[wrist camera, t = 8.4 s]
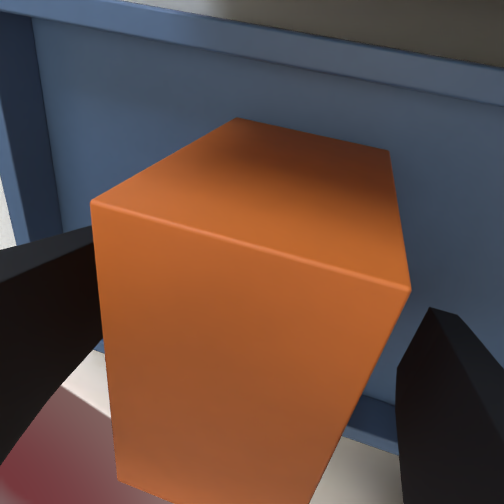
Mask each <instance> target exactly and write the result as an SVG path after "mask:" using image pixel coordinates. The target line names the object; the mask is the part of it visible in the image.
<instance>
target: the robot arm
mask: <svg viewBox="0 0 504 504" xmlns="http://www.w3.org/2000/svg"><path fill="white" fill-rule="evenodd" d="M102 339H103V331H102V321H101V311H100V301H99V291H98V281H97V271H96V261H95V251H94V241H93V231H92V225H90V226H87V227H83V228H79V229H76V230H72V231H69V232H65V233H62V234H58V235H55V236H51V237H48V238H44V239H41V240H37V241H34V242H30V243H26V244H22V245H18V246H14V247H10V248H6V249H2V250H0V465H1V464H2V462H3V461H4V460H5V458H6V457H7V455H8V454H9V453H10V451H11V450H12V448H13V447H14V445H15V444H16V442H17V441H18V440H19V438H20V437H21V436H22V434H23V433H24V432H25V430H26V429H27V428H28V426H29V425H30V424H31V422H32V421H33V420H34V418H35V417H36V415H37V414H38V413H39V411H40V410H41V409H42V407H43V406H44V405H45V403H46V402H47V401H48V400H49V398H50V397H51V396H52V395H53V394H54V392H55V391H56V390H57V389H58V388H59V387H60V385H61V384H62V383H63V382H64V381H65V380H66V379H67V378H68V376H69V375H70V374H71V373H72V372H73V371H74V370H75V369H76V368H77V367H78V365H79V364H80V363H81V362H82V361H83V360H84V359H85V358H86V357H87V355H88V354H89V353H90V352H91V351H92V350H93V349H94V348H95V347H96V346H97V344H98V343H99V342H100V341H101V340H102ZM395 416H396V428H397V439H398V450H399V461H400V471H401V482H402V492H403V503H404V504H504V369H503V367H502V366H501V365H500V364H499V363H498V361H497V360H496V359H495V358H494V357H493V355H492V354H491V353H490V352H489V350H488V349H487V348H486V347H485V346H484V344H483V343H482V342H481V341H480V340H479V338H478V337H477V336H476V335H475V334H474V332H473V331H472V330H471V329H470V328H469V326H468V325H467V324H466V323H465V322H464V321H463V320H462V319H461V318H460V317H459V316H458V315H457V314H453V313H450V312H446V311H443V310H439V309H435V308H432V307H429V308H428V310H427V312H426V314H425V316H424V318H423V320H422V321H421V323H420V325H419V327H418V329H417V331H416V333H415V335H414V337H413V338H412V340H411V342H410V344H409V346H408V348H407V350H406V352H405V353H404V355H403V357H402V359H401V361H400V363H399V365H398V367H397V373H396V391H395Z"/></svg>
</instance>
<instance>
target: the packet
mask: <svg viewBox="0 0 504 504" xmlns="http://www.w3.org/2000/svg"><path fill="white" fill-rule="evenodd" d="M90 211H91V221H92V231H93V241H94V251H95V261H96V271H97V281H98V291H99V301H100V311H101V321H102V331H103V341H104V351H105V361H106V371H107V381H108V390H109V400H110V410H111V420H112V430H113V440H114V450H115V460H116V469H117V479H118V481H120V482H122V483H125V484H127V485H130V486H133V487H135V488H137V489H140V490H142V491H145V492H147V493H150V494H152V495H154V496H157V497H160V498H162V499H164V500H167V501H169V502H172V503H174V504H309V502H310V500H311V498H312V496H313V494H314V492H315V490H316V488H317V486H318V484H319V482H320V480H321V478H322V475H323V473H324V471H325V469H326V467H327V465H328V463H329V461H330V459H331V457H332V455H333V453H334V451H335V449H336V446H337V444H338V442H339V440H340V438H341V436H342V434H343V432H344V430H345V428H346V426H347V424H348V422H349V420H350V417H351V415H352V413H353V411H354V409H355V407H356V405H357V403H358V401H359V399H360V397H361V395H362V393H363V391H364V388H365V386H366V384H367V382H368V380H369V378H370V376H371V374H372V372H373V370H374V368H375V366H376V364H377V362H378V359H379V357H380V355H381V353H382V351H383V349H384V347H385V345H386V343H387V341H388V339H389V337H390V335H391V333H392V330H393V328H394V326H395V324H396V322H397V320H398V318H399V316H400V314H401V312H402V310H403V308H404V306H405V304H406V301H407V299H408V297H409V295H410V293H411V291H412V290H411V282H410V276H409V270H408V263H407V257H406V251H405V245H404V239H403V232H402V226H401V220H400V214H399V208H398V202H397V195H396V189H395V183H394V177H393V171H392V164H391V158H390V152H389V151H388V150H384V149H380V148H375V147H370V146H366V145H361V144H357V143H352V142H348V141H343V140H338V139H334V138H329V137H325V136H320V135H316V134H311V133H306V132H302V131H297V130H293V129H288V128H283V127H279V126H274V125H270V124H265V123H261V122H256V121H251V120H247V119H242V118H238V117H237V118H234V119H232V120H231V121H229V122H227V123H225V124H224V125H222V126H220V127H218V128H217V129H215V130H213V131H211V132H210V133H208V134H206V135H204V136H203V137H201V138H199V139H197V140H196V141H194V142H192V143H190V144H189V145H187V146H185V147H183V148H182V149H180V150H178V151H176V152H174V153H173V154H171V155H169V156H167V157H166V158H164V159H162V160H160V161H159V162H157V163H155V164H153V165H152V166H150V167H148V168H146V169H145V170H143V171H141V172H139V173H138V174H136V175H134V176H132V177H131V178H129V179H127V180H125V181H124V182H122V183H120V184H118V185H117V186H115V187H113V188H111V189H110V190H108V191H106V192H104V193H103V194H101V195H99V196H97V197H96V198H94V199H92V200H91V201H90Z"/></svg>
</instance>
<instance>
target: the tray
mask: <svg viewBox="0 0 504 504" xmlns="http://www.w3.org/2000/svg"><path fill="white" fill-rule="evenodd" d="M237 117H238V118H242V119H247V120H251V121H256V122H261V123H265V124H270V125H274V126H279V127H283V128H288V129H293V130H297V131H302V132H306V133H311V134H316V135H320V136H325V137H329V138H334V139H338V140H343V141H348V142H352V143H357V144H361V145H366V146H370V147H375V148H380V149H384V150H388V151H389V152H390V158H391V164H392V171H393V177H394V183H395V189H396V195H397V202H398V208H399V214H400V220H401V226H402V232H403V239H404V245H405V251H406V257H407V263H408V270H409V276H410V282H411V290H412V291H411V293H410V295H409V297H408V299H407V301H406V304H405V306H404V308H403V310H402V312H401V314H400V316H399V318H398V320H397V322H396V324H395V326H394V328H393V330H392V333H391V335H390V337H389V339H388V341H387V343H386V345H385V347H384V349H383V351H382V353H381V355H380V357H379V359H378V362H377V364H376V366H375V368H374V370H373V372H372V374H371V376H370V378H369V380H368V382H367V384H366V386H365V388H364V391H363V393H362V395H361V397H360V399H359V401H358V403H357V405H356V407H355V409H354V411H353V413H352V415H351V417H350V420H349V422H348V424H347V426H346V428H345V430H344V432H343V434H342V436H343V437H346V438H349V439H352V440H355V441H358V442H361V443H364V444H366V445H369V446H372V447H375V448H378V449H381V450H384V451H387V452H389V453H392V454H395V455H398V456H399V450H398V439H397V428H396V416H395V391H396V373H397V367H398V365H399V363H400V361H401V359H402V357H403V355H404V353H405V352H406V350H407V348H408V346H409V344H410V342H411V340H412V338H413V337H414V335H415V333H416V331H417V329H418V327H419V325H420V323H421V321H422V320H423V318H424V316H425V314H426V312H427V310H428V308H429V307H432V308H435V309H439V310H443V311H446V312H450V313H453V314H457V315H458V316H459V317H460V318H461V319H462V320H463V321H464V322H465V323H466V324H467V325H468V326H469V328H470V329H471V330H472V331H473V332H474V334H475V335H476V336H477V337H478V338H479V340H480V341H481V342H482V343H483V344H484V346H485V347H486V348H487V349H488V350H489V352H490V353H491V354H492V355H493V357H494V358H495V359H496V360H497V361H498V363H499V364H500V365H501V366H502V367H503V369H504V67H498V66H493V65H487V64H481V63H475V62H470V61H464V60H458V59H452V58H447V57H441V56H435V55H430V54H424V53H418V52H412V51H407V50H401V49H395V48H389V47H384V46H378V45H372V44H367V43H361V42H355V41H349V40H344V39H338V38H332V37H326V36H321V35H315V34H309V33H304V32H298V31H292V30H286V29H281V28H275V27H269V26H263V25H258V24H252V23H246V22H241V21H235V20H229V19H223V18H218V17H212V16H206V15H201V14H195V13H189V12H183V11H178V10H172V9H166V8H160V7H155V6H149V5H143V4H138V3H132V2H126V1H120V0H0V176H1V181H2V185H3V189H4V194H5V198H6V202H7V206H8V211H9V215H10V219H11V224H12V228H13V232H14V236H15V241H16V245H17V246H18V245H22V244H26V243H30V242H34V241H37V240H41V239H44V238H48V237H51V236H55V235H58V234H62V233H65V232H69V231H72V230H76V229H79V228H83V227H87V226H90V225H92V221H91V211H90V201H91V200H92V199H94V198H96V197H97V196H99V195H101V194H103V193H104V192H106V191H108V190H110V189H111V188H113V187H115V186H117V185H118V184H120V183H122V182H124V181H125V180H127V179H129V178H131V177H132V176H134V175H136V174H138V173H139V172H141V171H143V170H145V169H146V168H148V167H150V166H152V165H153V164H155V163H157V162H159V161H160V160H162V159H164V158H166V157H167V156H169V155H171V154H173V153H174V152H176V151H178V150H180V149H182V148H183V147H185V146H187V145H189V144H190V143H192V142H194V141H196V140H197V139H199V138H201V137H203V136H204V135H206V134H208V133H210V132H211V131H213V130H215V129H217V128H218V127H220V126H222V125H224V124H225V123H227V122H229V121H231V120H232V119H234V118H237ZM93 350H96V351H99V352H101V353H104V354H105V351H104V341H103V339H102V340H101V341H100V342H99V343H98V344H97V346H96V347H95V348H94V349H93Z"/></svg>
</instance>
